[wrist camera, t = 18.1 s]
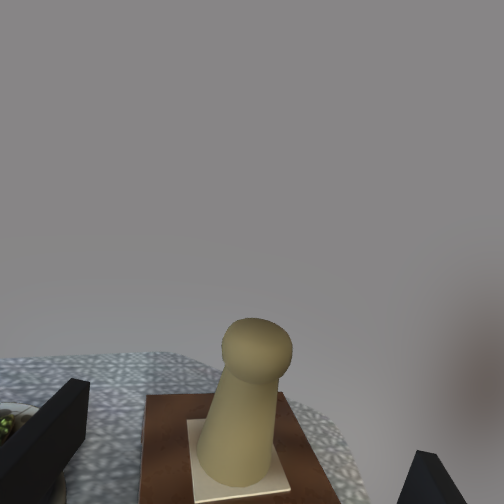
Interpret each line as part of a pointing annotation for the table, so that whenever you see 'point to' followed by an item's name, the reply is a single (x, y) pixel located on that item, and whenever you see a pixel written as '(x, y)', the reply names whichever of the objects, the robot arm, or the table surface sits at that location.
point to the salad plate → (8, 423)
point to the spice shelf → (194, 477)
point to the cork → (245, 403)
